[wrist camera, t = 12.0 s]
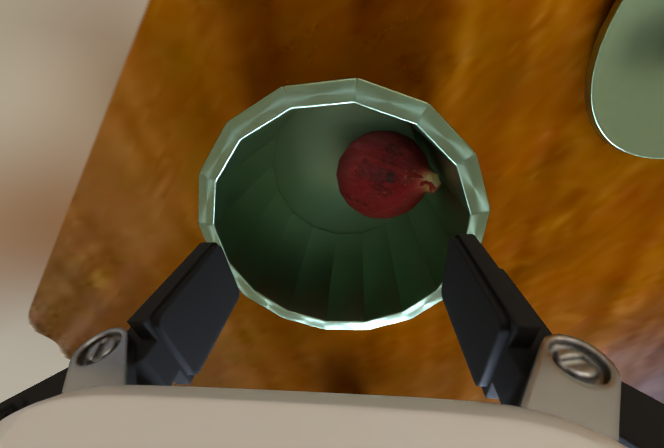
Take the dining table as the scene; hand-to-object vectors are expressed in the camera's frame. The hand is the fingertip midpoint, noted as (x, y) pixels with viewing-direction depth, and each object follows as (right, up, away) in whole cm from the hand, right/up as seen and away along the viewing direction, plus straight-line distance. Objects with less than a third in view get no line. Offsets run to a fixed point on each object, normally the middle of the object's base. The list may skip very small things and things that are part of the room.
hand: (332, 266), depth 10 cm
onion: (+1, +6, +10) cm, 11 cm away
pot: (+1, +6, +11) cm, 13 cm away
